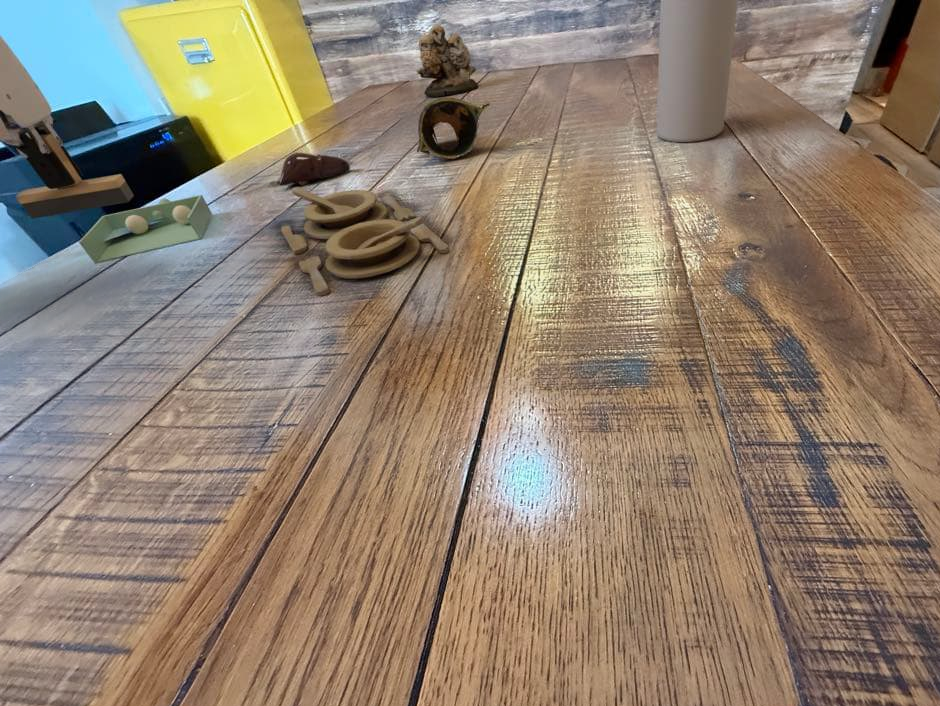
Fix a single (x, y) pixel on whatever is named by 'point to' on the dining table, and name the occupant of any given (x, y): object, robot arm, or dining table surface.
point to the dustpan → (153, 236)
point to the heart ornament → (310, 168)
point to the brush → (73, 190)
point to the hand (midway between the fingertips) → (66, 181)
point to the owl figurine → (445, 64)
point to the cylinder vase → (694, 67)
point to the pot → (455, 114)
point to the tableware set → (358, 235)
